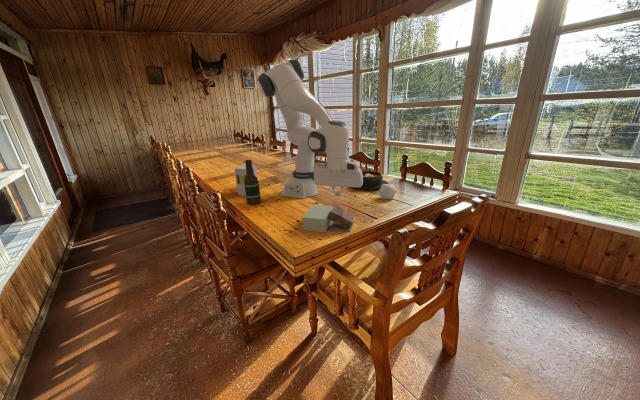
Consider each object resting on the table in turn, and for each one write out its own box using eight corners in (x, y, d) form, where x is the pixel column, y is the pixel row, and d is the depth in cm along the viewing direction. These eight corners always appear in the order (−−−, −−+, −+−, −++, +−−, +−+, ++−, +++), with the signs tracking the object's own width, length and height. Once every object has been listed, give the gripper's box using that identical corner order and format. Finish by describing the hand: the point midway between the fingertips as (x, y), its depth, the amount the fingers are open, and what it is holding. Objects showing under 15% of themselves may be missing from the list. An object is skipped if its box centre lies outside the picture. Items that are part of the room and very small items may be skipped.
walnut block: (331, 211, 107) (353, 222, 106) (334, 204, 114) (355, 215, 113) (327, 218, 109) (348, 229, 108) (331, 212, 115) (351, 222, 114)
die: (392, 203, 136) (401, 187, 136) (377, 195, 136) (386, 179, 136) (387, 203, 144) (396, 188, 144) (374, 195, 144) (382, 180, 144)
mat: (329, 229, 110) (329, 229, 109) (334, 220, 118) (334, 220, 117) (350, 232, 107) (350, 231, 107) (353, 222, 115) (353, 221, 115)
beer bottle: (248, 200, 146) (242, 159, 138) (262, 199, 147) (256, 158, 138) (245, 205, 139) (239, 162, 130) (260, 204, 140) (254, 161, 131)
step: (303, 229, 110) (302, 217, 108) (313, 216, 123) (312, 205, 121) (325, 232, 108) (325, 219, 105) (333, 218, 120) (333, 206, 118)
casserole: (353, 193, 151) (353, 179, 148) (345, 184, 169) (345, 171, 166) (393, 189, 155) (394, 176, 152) (381, 181, 172) (382, 168, 169)
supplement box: (237, 195, 155) (233, 168, 149) (247, 190, 163) (243, 164, 157) (250, 197, 152) (246, 169, 146) (259, 192, 160) (256, 165, 154)
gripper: (310, 164, 103) (312, 196, 108) (361, 166, 97) (361, 200, 102) (315, 161, 108) (316, 191, 113) (363, 162, 103) (363, 194, 108)
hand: (338, 195), depth 108 cm, fingers closed
